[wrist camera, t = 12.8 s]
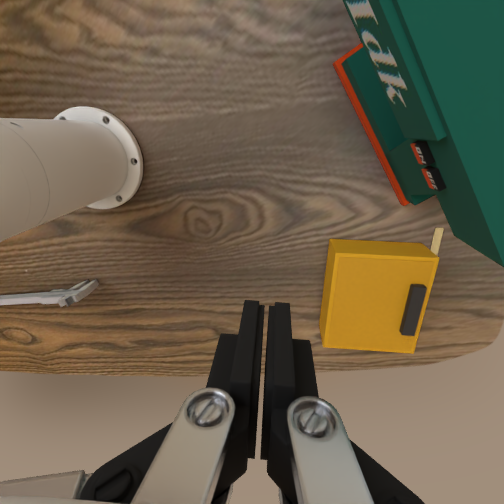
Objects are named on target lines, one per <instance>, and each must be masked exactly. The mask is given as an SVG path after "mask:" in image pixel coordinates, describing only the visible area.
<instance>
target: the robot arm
mask: <svg viewBox="0 0 504 504" xmlns="http://www.w3.org/2000/svg"><path fill="white" fill-rule="evenodd" d="M108 119H109V120H110V122H109V121H108ZM135 159H136V160H137V163H136V161H135ZM142 177H143V158H142V154H141V150H140V147H139V145H138V143H137V141H136V139H135V137H134V136H133V134H132V132H131V131H130V130H129V129H128V127H127V126H126V125H125V124H124V123H123V122H122V121H121V120H119V119H118V118H117V117H115V116H114V115H112V114H110V113H109V112H107V111H105V110H101V109H98V108H94V107H74V108H69V109H67V110H65V111H63V112H61V113H60V114H59V115H58V116H56V117H55V118H54V119H53V120H52V119H16V118H0V242H1V241H4V240H6V239H8V238H10V237H13V236H15V235H17V234H20V233H22V232H25V231H27V230H29V229H32V228H35V227H37V226H40V225H42V224H44V223H47V222H49V221H52V220H54V219H56V218H59V217H61V216H64V215H66V214H68V213H71V212H73V211H76V210H78V209H80V208H83V207H85V206H87V207H90V208H94V209H111V208H114V207H118V206H120V205H122V204H124V203H125V202H127V201H128V200H130V199H131V198H132V197H133V196H134V194H135V193H136V192H137V190H138V188H139V186H140V184H141V181H142ZM121 197H122V199H121ZM264 307H265V305H259V301H252V300H245V302H244V307H243V313H242V318H241V323H240V329H239V334H238V335H235V334H222V333H221V335H220V338H219V341H218V345H217V349H216V352H215V356H214V360H213V363H212V367H211V371H210V375H209V378H208V382H207V386H206V388H203V389H199V390H197V391H195V392H193V393H192V394H191V395H189V396H188V397H187V398H186V400H185V401H184V403H183V404H182V406H181V408H180V410H179V412H178V414H177V416H176V418H175V420H174V422H172V423H171V424H169V425H167V426H166V427H165V428H163V429H161V430H159V431H158V432H156V433H154V434H153V435H151V436H149V437H148V438H146V439H145V440H143V441H142V442H140V443H138V444H137V445H135V446H133V447H132V448H130V449H129V450H127V451H125V452H123V453H122V454H120V455H118V456H117V457H115V458H114V459H112V460H110V461H109V462H107V463H105V464H104V465H103V466H101V467H100V468H99V469H97V470H96V471H95V472H94V473H91V474H85V472H84V470H80V471H73V472H65V473H59V474H51V475H44V476H36V477H29V478H22V479H15V480H8V481H3V482H0V504H229V502H230V498H231V494H232V490H233V483H234V482H235V481H236V480H237V479H238V478H239V477H241V476H242V475H243V474H244V473H245V472H246V470H247V461H248V458H253V459H255V446H256V431H257V417H258V401H259V386H260V372H261V357H262V340H263V323H264ZM264 379H265V380H264V399H263V400H264V401H263V418H262V439H261V459H263V460H267V473H268V475H269V476H270V477H271V479H272V480H273V481H274V482H275V483H276V485H277V486H278V487H279V501H280V504H424V502H423V501H422V500H421V499H420V498H419V497H418V496H416V495H415V494H414V493H413V492H412V491H411V490H409V489H408V488H407V487H406V486H405V485H403V484H402V483H401V482H400V481H399V480H397V479H396V478H395V477H394V476H393V475H392V474H390V473H389V472H388V471H387V470H386V469H384V468H383V467H382V466H381V465H380V464H378V463H377V462H376V461H375V460H374V459H372V458H371V457H370V456H369V455H368V454H367V453H365V452H364V451H363V450H362V449H361V448H359V447H358V446H357V445H356V444H355V443H353V442H352V441H351V440H350V439H349V438H348V435H347V432H346V430H345V427H344V425H343V422H342V419H341V417H340V415H339V413H338V412H337V410H336V409H335V408H334V407H333V406H332V405H331V404H330V403H328V402H327V401H325V400H324V399H321V398H319V396H318V390H317V383H316V376H315V370H314V363H313V357H312V350H311V344H310V341H309V340H300V339H292V330H291V315H290V303H280V302H275V306H269V316H268V331H267V346H266V361H265V378H264Z"/></svg>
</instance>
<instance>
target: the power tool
mask: <svg viewBox="0 0 504 504" xmlns="http://www.w3.org/2000/svg"><path fill="white" fill-rule="evenodd" d="M343 2H344V4H345V7H346V9H347V11H348V13H349V15H350V18H351V20H352V22H353V24H354V27H355V29H356V31H357V33H358V35H359V38H360V40H361V42H362V43H361V44H359V45H358V46H357V47H355V48H354V49H352V50H351V51H350V52H348V53H347V54H345V55H344V56H342V57H341V58H340V59H338V60H337V61H335V62H334V63H333V66H334V68H335V70H336V72H337V74H338V76H339V78H340V80H341V82H342V84H343V86H344V89H345V91H346V93H347V95H348V97H349V99H350V101H351V103H352V105H353V107H354V109H355V111H356V113H357V115H358V117H359V119H360V121H361V123H362V126H363V128H364V130H365V132H366V134H367V136H368V138H369V140H370V142H371V144H372V146H373V148H374V150H375V152H376V154H377V156H378V158H379V160H380V163H381V165H382V167H383V169H384V171H385V173H386V175H387V177H388V179H389V181H390V183H391V185H392V187H393V189H394V191H395V193H396V195H397V197H398V200H399V202H400V204H401V205H403V206H405V205H407V204H409V203H412V204H414V205H417V204H419V203H421V202H423V201H424V200H426V199H428V198H430V197H432V196H434V195H436V196H437V198H438V200H439V202H440V205H441V207H442V209H443V211H444V214H445V216H446V218H447V220H448V223H449V225H450V227H451V229H452V232H453V234H454V236H456V237H457V238H459V239H460V240H462V241H463V242H465V243H467V244H468V245H470V246H471V247H473V248H474V249H476V250H477V251H479V252H481V253H482V254H484V255H485V256H487V257H488V258H490V259H492V260H493V261H495V262H496V263H498V264H499V265H501V266H503V267H504V0H343Z"/></svg>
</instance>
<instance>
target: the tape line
mask: <svg viewBox="0 0 504 504" xmlns="http://www.w3.org/2000/svg"><path fill="white" fill-rule="evenodd" d="M443 230H444V228H435V232H434V236H433V240H432V244H431V249H430V250H431V251H432V252H433V253H434V254H435V255H437V254H438V250H439V246H440V242H441V238H442V234H443Z"/></svg>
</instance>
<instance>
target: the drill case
mask: <svg viewBox="0 0 504 504" xmlns="http://www.w3.org/2000/svg"><path fill="white" fill-rule="evenodd" d="M438 262H439V257H438V256H437V255H435V254H434V253H433V252H432V251H431V250H429V249H428V248H427V247H426V246H425V245H423V244H422V243H408V242H387V241H365V240H344V239H329V248H328V256H327V264H326V272H325V280H324V289H323V297H322V305H321V313H320V321H319V328H320V333H321V338H322V344H323V347H329V348H343V349H357V350H371V351H384V352H398V353H412V354H414V350H415V346H416V343H417V339H418V335H419V332H420V328H421V324H422V321H423V317H424V313H425V310H426V306H427V302H428V299H429V295H430V291H431V288H432V284H433V280H434V277H435V273H436V269H437V266H438Z"/></svg>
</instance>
